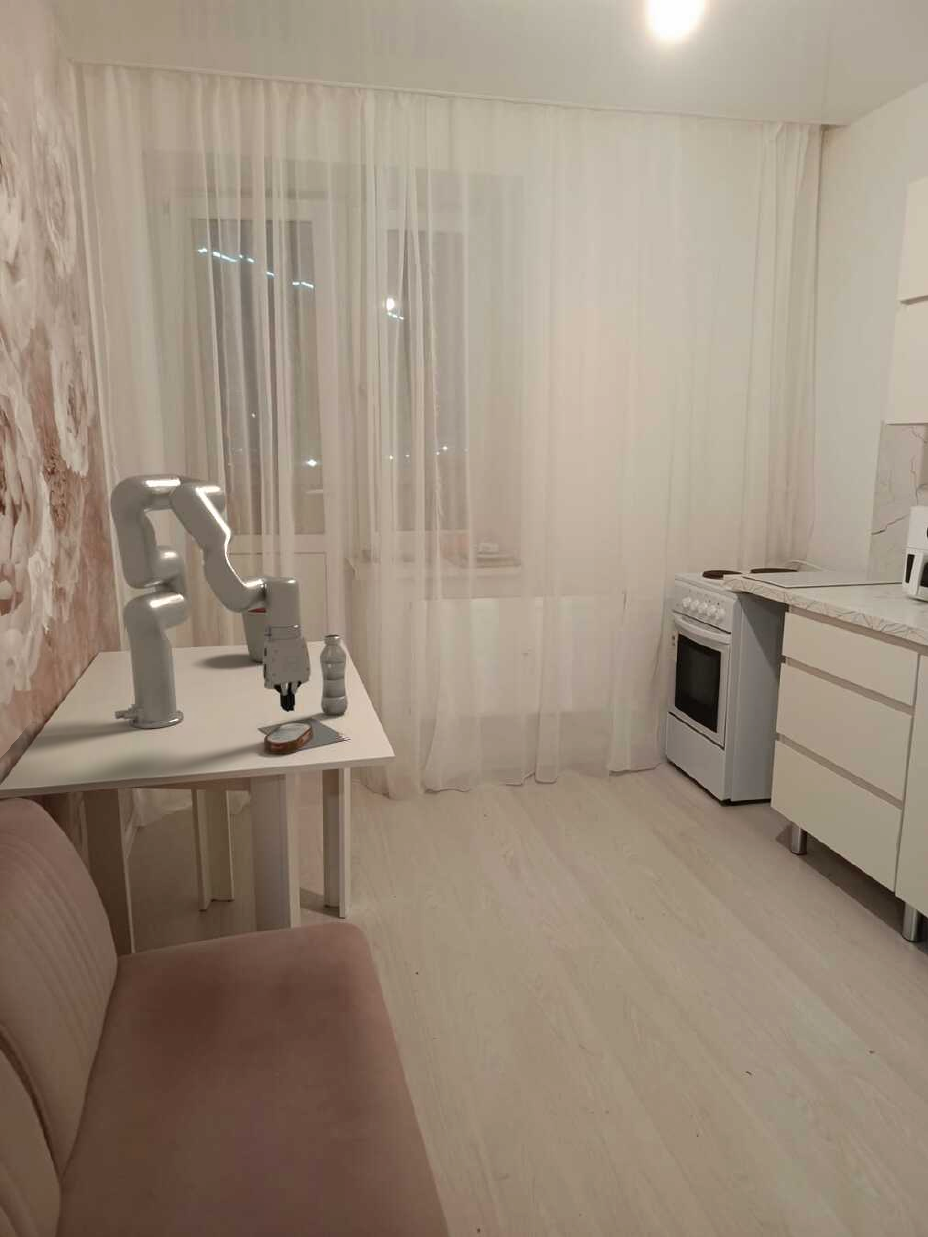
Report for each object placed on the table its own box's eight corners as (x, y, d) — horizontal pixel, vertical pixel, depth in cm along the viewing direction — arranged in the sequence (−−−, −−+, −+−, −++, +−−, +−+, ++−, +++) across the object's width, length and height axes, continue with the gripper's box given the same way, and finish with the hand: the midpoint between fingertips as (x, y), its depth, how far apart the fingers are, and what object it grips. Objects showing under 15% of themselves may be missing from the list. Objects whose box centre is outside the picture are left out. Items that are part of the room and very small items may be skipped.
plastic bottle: (318, 711, 227) (315, 634, 223) (345, 708, 229) (342, 632, 225) (324, 718, 221) (321, 639, 217) (351, 715, 223) (348, 637, 219)
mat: (294, 752, 197) (294, 751, 197) (258, 729, 213) (258, 728, 213) (350, 739, 205) (350, 738, 205) (311, 718, 221) (311, 717, 221)
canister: (302, 663, 276) (299, 596, 272) (241, 667, 272) (237, 599, 267) (299, 650, 293) (296, 587, 289) (242, 654, 289) (238, 589, 285)
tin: (257, 752, 196) (293, 757, 195) (258, 739, 196) (294, 744, 194) (284, 731, 211) (318, 735, 209) (285, 718, 210) (319, 723, 208)
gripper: (259, 639, 195) (264, 720, 199) (321, 630, 204) (324, 708, 207) (246, 633, 201) (251, 711, 205) (307, 625, 210) (310, 700, 213)
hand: (288, 709), depth 206 cm, fingers closed
